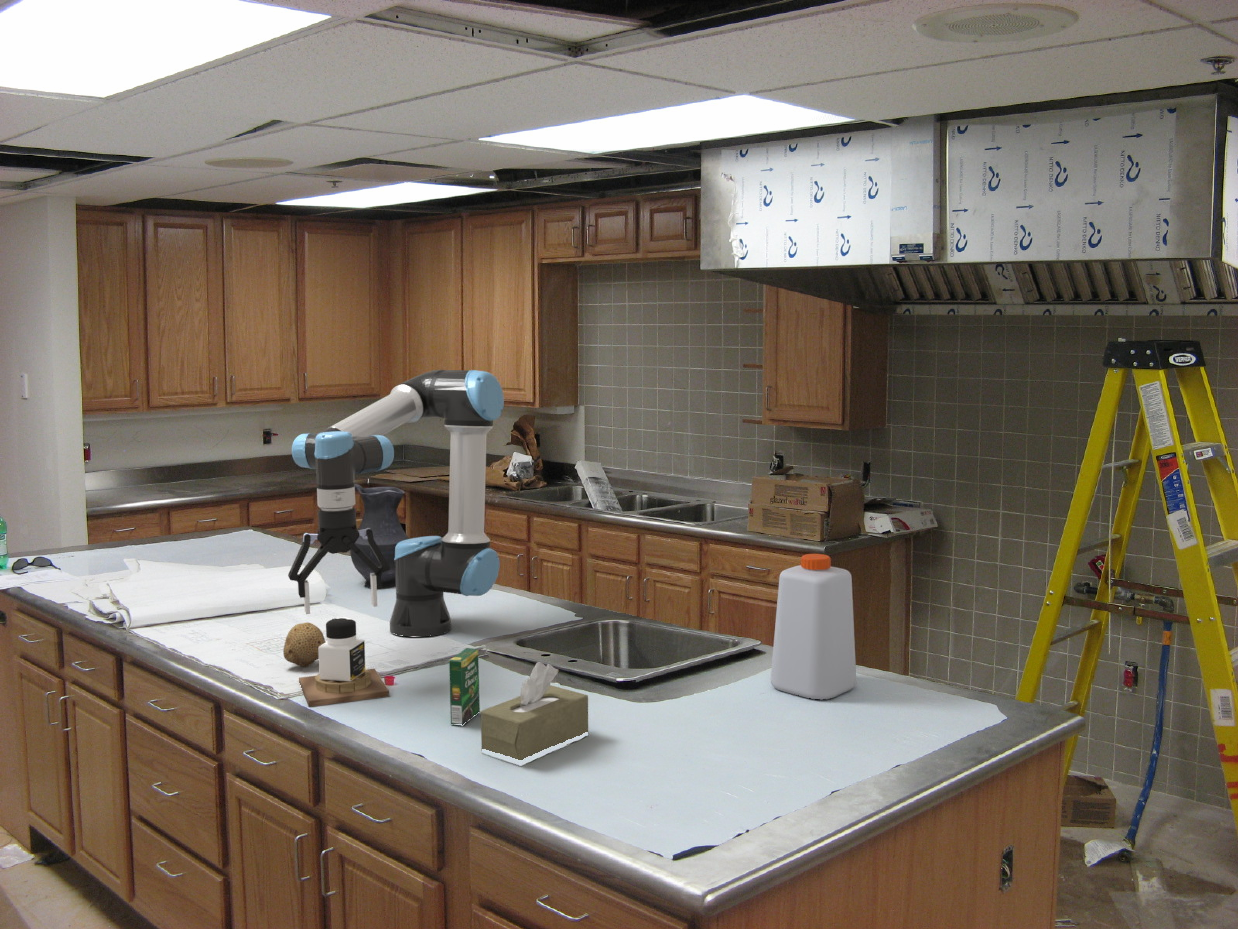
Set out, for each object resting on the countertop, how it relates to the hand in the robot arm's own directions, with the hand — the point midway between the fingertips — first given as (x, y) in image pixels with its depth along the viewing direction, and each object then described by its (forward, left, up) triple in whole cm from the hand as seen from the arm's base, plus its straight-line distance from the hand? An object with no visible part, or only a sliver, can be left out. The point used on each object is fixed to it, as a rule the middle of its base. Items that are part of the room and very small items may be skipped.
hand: (341, 608), depth 229 cm
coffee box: (-19, +27, -17) cm, 37 cm away
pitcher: (-23, -91, -17) cm, 95 cm away
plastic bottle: (-91, +37, -17) cm, 100 cm away
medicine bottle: (0, 0, -14) cm, 14 cm away
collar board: (0, 0, -17) cm, 17 cm away
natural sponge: (+5, -19, -17) cm, 26 cm away
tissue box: (-27, +45, -18) cm, 55 cm away
